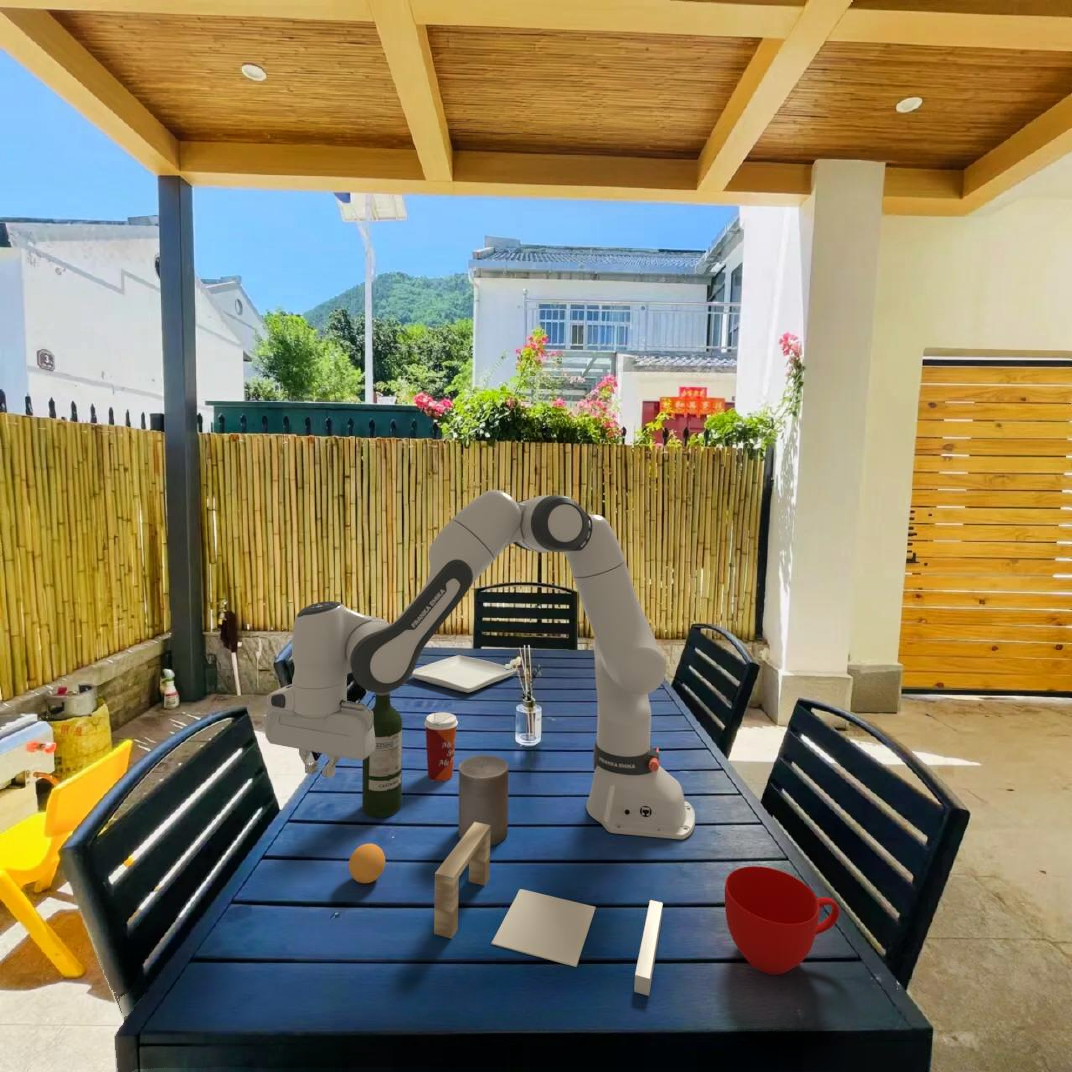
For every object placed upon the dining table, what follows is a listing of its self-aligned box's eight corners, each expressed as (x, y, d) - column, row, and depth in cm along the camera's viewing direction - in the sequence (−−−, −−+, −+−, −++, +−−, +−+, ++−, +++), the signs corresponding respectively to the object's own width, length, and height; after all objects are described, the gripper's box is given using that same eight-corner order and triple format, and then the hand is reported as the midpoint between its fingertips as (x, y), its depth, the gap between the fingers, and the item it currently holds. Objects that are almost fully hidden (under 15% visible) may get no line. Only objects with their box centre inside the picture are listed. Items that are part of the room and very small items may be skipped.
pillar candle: (504, 817, 127) (505, 747, 126) (510, 845, 117) (511, 769, 116) (456, 821, 125) (457, 749, 124) (459, 849, 116) (459, 772, 114)
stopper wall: (661, 917, 99) (662, 902, 99) (649, 995, 84) (649, 978, 84) (649, 914, 100) (650, 899, 99) (634, 991, 84) (635, 974, 84)
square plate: (469, 699, 195) (469, 687, 195) (406, 682, 210) (406, 670, 209) (518, 678, 218) (518, 667, 217) (458, 663, 232) (458, 653, 232)
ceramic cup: (860, 990, 86) (866, 922, 85) (742, 995, 85) (746, 926, 84) (811, 923, 99) (816, 864, 98) (708, 926, 97) (712, 866, 96)
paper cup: (450, 786, 139) (451, 725, 138) (418, 781, 141) (419, 722, 139) (461, 770, 147) (462, 713, 146) (430, 766, 148) (431, 709, 147)
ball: (391, 873, 108) (392, 840, 108) (372, 894, 102) (373, 860, 102) (361, 865, 110) (362, 833, 109) (341, 886, 104) (341, 852, 104)
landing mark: (595, 908, 101) (595, 906, 101) (576, 967, 88) (576, 965, 88) (520, 889, 105) (520, 888, 105) (491, 944, 92) (491, 942, 92)
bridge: (489, 878, 107) (490, 825, 107) (452, 938, 93) (453, 877, 92) (473, 874, 108) (474, 821, 107) (433, 933, 94) (435, 873, 93)
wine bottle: (376, 822, 124) (377, 676, 121) (354, 807, 129) (355, 667, 126) (408, 808, 129) (410, 668, 127) (387, 794, 135) (388, 659, 132)
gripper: (383, 699, 106) (382, 776, 107) (284, 683, 112) (284, 757, 113) (362, 711, 100) (361, 793, 101) (258, 695, 106) (259, 772, 107)
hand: (320, 774), depth 107 cm, fingers open, 2 cm apart
